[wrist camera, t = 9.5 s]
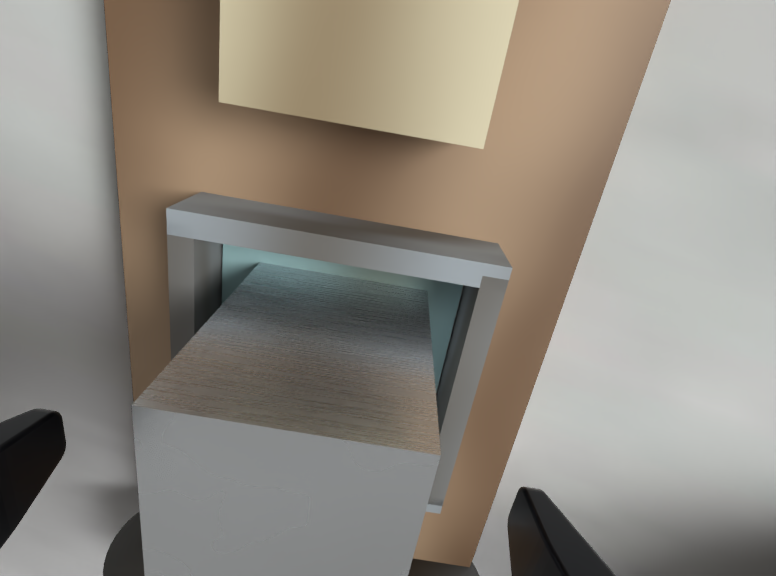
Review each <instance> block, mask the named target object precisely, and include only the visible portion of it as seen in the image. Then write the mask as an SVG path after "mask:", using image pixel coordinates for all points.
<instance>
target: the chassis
mask: <svg viewBox="0 0 776 576" xmlns="http://www.w3.org/2000/svg"><path fill="white" fill-rule="evenodd" d="M670 1H671V0H104V8H105V22H106V35H107V49H108V63H109V76H110V90H111V103H112V117H113V130H114V144H115V158H116V171H117V185H118V198H119V212H120V226H121V239H122V253H123V266H124V280H125V294H126V307H127V321H128V334H129V348H130V362H131V375H132V389H133V402H135V401H136V400H137V398H138V397H139V396H140V395H141V394H142V393H143V392H144V391H145V390H146V388H147V387H148V386H149V385H150V384H151V383H152V382H153V381H154V380H155V378H156V377H157V376H158V375H159V374H160V373H161V372H162V371H163V370H164V368H165V367H166V366H167V365H168V364H169V363H170V362H171V361H172V360H173V358H174V357H175V356H176V355H177V354H178V353H179V352H180V351H181V350H182V348H183V347H184V346H185V345H186V344H187V343H188V342H189V341H190V340H191V338H192V337H193V336H194V335H195V334H196V333H197V332H198V331H199V330H200V328H201V327H202V326H203V325H204V324H205V323H206V322H207V321H208V320H209V318H210V317H211V316H212V315H213V314H214V313H215V312H216V311H217V310H218V308H219V307H220V306H221V305H222V304H223V303H224V302H225V301H226V300H227V298H228V297H229V296H230V295H231V294H232V293H233V292H234V291H235V290H236V288H237V287H238V286H239V285H240V284H241V283H242V282H243V281H244V280H245V278H246V277H247V276H248V275H249V274H250V273H251V272H252V271H253V270H254V268H255V267H256V266H257V265H258V264H259V263H260V262H262V263H268V264H273V265H279V266H285V267H291V268H297V269H303V270H309V271H315V272H321V273H327V274H332V275H338V276H344V277H350V278H356V279H362V280H368V281H374V282H380V283H386V284H391V285H397V286H403V287H409V288H415V289H421V290H427V292H428V304H429V316H430V328H431V341H432V353H433V365H434V377H435V389H436V402H437V414H438V426H439V438H440V451H441V457H440V461H439V464H438V468H437V471H436V475H435V479H434V482H433V486H432V490H431V493H430V497H429V501H428V504H427V508H426V512H425V515H424V519H423V523H422V526H421V530H420V534H419V537H418V541H417V545H416V548H415V552H414V555H413V559H412V563H411V566H410V570H409V574H408V576H479V574H478V572H477V570H476V568H475V566H474V564H473V563H472V560H473V557H474V554H475V551H476V548H477V546H478V543H479V540H480V537H481V534H482V531H483V529H484V526H485V523H486V520H487V517H488V514H489V512H490V509H491V506H492V503H493V500H494V498H495V495H496V492H497V489H498V486H499V483H500V481H501V478H502V475H503V472H504V469H505V467H506V464H507V461H508V458H509V455H510V452H511V450H512V447H513V444H514V441H515V438H516V436H517V433H518V430H519V427H520V424H521V421H522V419H523V416H524V413H525V410H526V407H527V405H528V402H529V399H530V396H531V393H532V390H533V388H534V385H535V382H536V379H537V376H538V374H539V371H540V368H541V365H542V362H543V359H544V357H545V354H546V351H547V348H548V345H549V343H550V340H551V337H552V334H553V331H554V328H555V326H556V323H557V320H558V317H559V314H560V312H561V309H562V306H563V303H564V300H565V297H566V295H567V292H568V289H569V286H570V283H571V281H572V278H573V275H574V272H575V269H576V266H577V264H578V261H579V258H580V255H581V252H582V250H583V247H584V244H585V241H586V238H587V235H588V233H589V230H590V227H591V224H592V221H593V219H594V216H595V213H596V210H597V207H598V204H599V202H600V199H601V196H602V193H603V190H604V188H605V185H606V182H607V179H608V176H609V173H610V171H611V168H612V165H613V162H614V159H615V157H616V154H617V151H618V148H619V145H620V142H621V140H622V137H623V134H624V131H625V128H626V125H627V123H628V120H629V117H630V114H631V111H632V109H633V106H634V103H635V100H636V97H637V94H638V92H639V89H640V86H641V83H642V80H643V78H644V75H645V72H646V69H647V66H648V63H649V61H650V58H651V55H652V52H653V49H654V47H655V44H656V41H657V38H658V35H659V32H660V30H661V27H662V24H663V21H664V18H665V16H666V13H667V10H668V7H669V4H670ZM103 576H145V574H144V561H143V548H142V535H141V522H140V512H138V513H137V514H136V515H135V516H133V517H132V518H131V519H130V520H129V521H128V522H127V523H126V524H125V525H124V526H123V527H122V529H121V530H120V531H119V533H118V534H117V535H116V537H115V538H114V540H113V542H112V543H111V545H110V548H109V550H108V552H107V555H106V558H105V562H104V569H103Z"/></svg>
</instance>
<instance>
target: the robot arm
mask: <svg viewBox="0 0 776 576" xmlns="http://www.w3.org/2000/svg"><path fill="white" fill-rule="evenodd" d="M65 449H66V440H65V433H64V427H63V420H62V416H61V415H60V413H59V412H57V411H52V410H45V409H33V410H30V411H28V412H25V413H23V414H21V415H18V416H16V417H13V418H11V419H8V420H6V421H3V422H1V423H0V548H1V547H2V546H3V544H4V543H5V542H6V540H7V539H8V538H9V536H10V535H11V534H12V532H13V531H14V530H15V528H16V527H17V525H18V524H19V522H20V521H21V519H22V518H23V516H24V515H25V513H26V512H27V510H28V509H29V507H30V506H31V504H32V503H33V501H34V500H35V498H36V497H37V495H38V493H39V492H40V490H41V489H42V487H43V486H44V484H45V483H46V481H47V480H48V478H49V477H50V475H51V474H52V472H53V471H54V469H55V468H56V466H57V464H58V463H59V461H60V460H61V458H62V456H63V454H64V452H65ZM508 537H509V549H510V560H511V571H512V576H616V575H615V574H614V573H613V572H612V571H611V570H610V568H609V567H608V566H607V565H606V564H605V563H604V561H603V560H602V559H601V558H600V557H599V556H598V554H597V553H596V552H595V551H594V550H593V549H592V547H591V546H590V545H589V544H588V543H587V542H586V540H585V539H584V538H583V537H582V536H581V535H580V533H579V532H578V531H577V530H576V529H575V527H574V526H573V525H572V524H571V523H570V522H569V520H568V519H567V518H566V517H565V516H564V515H563V513H562V512H561V511H560V510H559V509H558V508H557V506H556V505H555V504H554V503H553V502H552V501H551V499H550V498H549V497H548V496H547V495H546V494H545V493H544V492H543V491H542V490H540V489H536V488H530V487H521V488H520V489H519V490H518V492H517V495H516V498H515V500H514V503H513V506H512V508H511V511H510V514H509V517H508Z"/></svg>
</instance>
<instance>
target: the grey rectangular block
mask: <svg viewBox="0 0 776 576" xmlns="http://www.w3.org/2000/svg"><path fill="white" fill-rule="evenodd" d="M131 407H132V420H133V432H134V445H135V458H136V471H137V484H138V497H139V509H140V522H141V535H142V548H143V561H144V574H145V576H408V574H409V570H410V566H411V563H412V559H413V555H414V552H415V548H416V545H417V541H418V537H419V534H420V530H421V526H422V523H423V519H424V515H425V512H426V508H427V504H428V501H429V497H430V493H431V490H432V486H433V482H434V479H435V475H436V471H437V468H438V464H439V461H440V457H441V451H440V438H439V426H438V414H437V402H436V389H435V377H434V365H433V353H432V341H431V328H430V316H429V304H428V292H427V290H421V289H415V288H409V287H403V286H397V285H391V284H386V283H380V282H374V281H368V280H362V279H356V278H350V277H344V276H338V275H332V274H327V273H321V272H315V271H309V270H303V269H297V268H291V267H285V266H279V265H273V264H268V263H262V262H260V263H259V264H258V265H257V266H256V267H255V268H254V270H253V271H252V272H251V273H250V274H249V275H248V276H247V277H246V278H245V280H244V281H243V282H242V283H241V284H240V285H239V286H238V287H237V288H236V290H235V291H234V292H233V293H232V294H231V295H230V296H229V297H228V298H227V300H226V301H225V302H224V303H223V304H222V305H221V306H220V307H219V308H218V310H217V311H216V312H215V313H214V314H213V315H212V316H211V317H210V318H209V320H208V321H207V322H206V323H205V324H204V325H203V326H202V327H201V328H200V330H199V331H198V332H197V333H196V334H195V335H194V336H193V337H192V338H191V340H190V341H189V342H188V343H187V344H186V345H185V346H184V347H183V348H182V350H181V351H180V352H179V353H178V354H177V355H176V356H175V357H174V358H173V360H172V361H171V362H170V363H169V364H168V365H167V366H166V367H165V368H164V370H163V371H162V372H161V373H160V374H159V375H158V376H157V377H156V378H155V380H154V381H153V382H152V383H151V384H150V385H149V386H148V387H147V388H146V390H145V391H144V392H143V393H142V394H141V395H140V396H139V397H138V398H137V400H136V401H135V402H134V403H133V404H132V405H131Z"/></svg>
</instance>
